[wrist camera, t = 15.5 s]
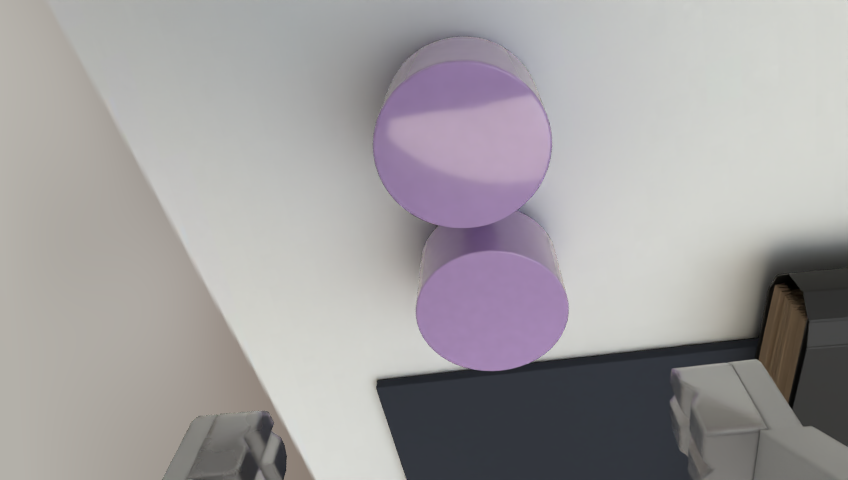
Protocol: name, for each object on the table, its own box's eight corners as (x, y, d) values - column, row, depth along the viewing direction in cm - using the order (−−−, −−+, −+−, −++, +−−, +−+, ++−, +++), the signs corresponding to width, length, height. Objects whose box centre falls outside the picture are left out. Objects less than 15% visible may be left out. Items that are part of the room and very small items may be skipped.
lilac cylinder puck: (405, 186, 25) (394, 240, 21) (371, 46, 22) (352, 80, 18) (544, 163, 24) (560, 215, 21) (528, 15, 22) (543, 43, 18)
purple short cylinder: (435, 312, 29) (431, 378, 25) (410, 206, 26) (400, 262, 22) (558, 296, 28) (574, 363, 24) (546, 184, 25) (562, 239, 21)
